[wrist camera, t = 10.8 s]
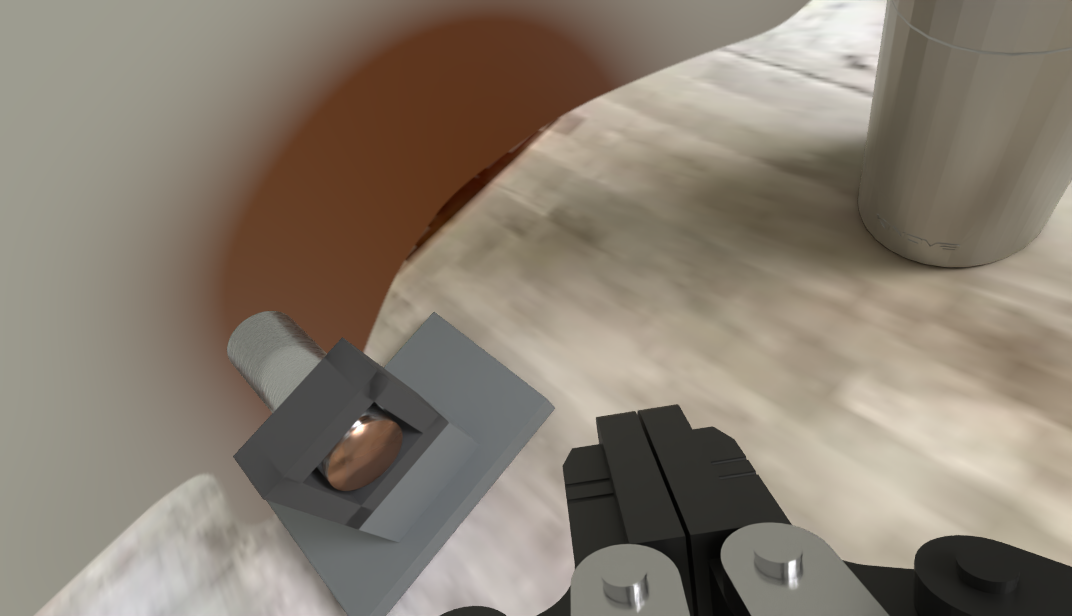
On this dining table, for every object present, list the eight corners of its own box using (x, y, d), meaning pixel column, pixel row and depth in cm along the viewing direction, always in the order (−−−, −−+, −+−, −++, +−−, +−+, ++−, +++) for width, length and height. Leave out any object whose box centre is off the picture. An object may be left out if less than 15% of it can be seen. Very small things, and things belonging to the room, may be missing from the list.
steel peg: (310, 331, 37) (264, 298, 34) (415, 435, 31) (372, 408, 28) (262, 381, 37) (211, 353, 33) (361, 499, 30) (310, 478, 27)
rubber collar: (416, 392, 34) (342, 337, 29) (449, 422, 33) (377, 370, 27) (328, 492, 33) (233, 456, 27) (358, 529, 31) (263, 499, 26)
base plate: (444, 321, 43) (404, 281, 39) (555, 407, 37) (523, 372, 33) (281, 504, 40) (218, 484, 36) (373, 631, 34) (311, 625, 30)
